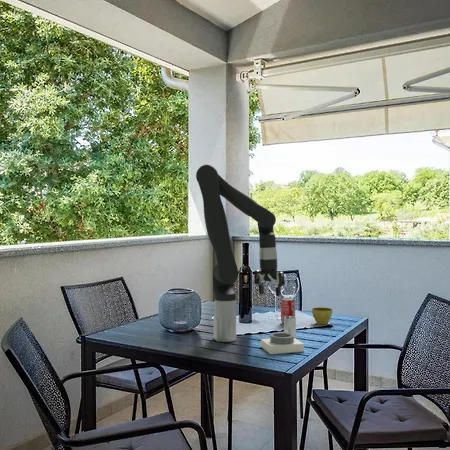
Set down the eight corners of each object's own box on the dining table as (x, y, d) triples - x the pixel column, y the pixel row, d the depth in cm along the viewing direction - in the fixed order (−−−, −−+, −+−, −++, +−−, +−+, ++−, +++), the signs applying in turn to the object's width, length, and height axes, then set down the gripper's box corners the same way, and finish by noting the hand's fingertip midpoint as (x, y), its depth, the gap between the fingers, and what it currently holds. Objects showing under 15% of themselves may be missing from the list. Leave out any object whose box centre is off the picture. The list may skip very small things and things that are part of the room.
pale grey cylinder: (286, 342, 198) (286, 318, 198) (282, 339, 203) (282, 315, 203) (297, 341, 199) (297, 317, 199) (293, 338, 204) (293, 315, 204)
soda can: (293, 321, 238) (293, 297, 237) (296, 324, 231) (296, 300, 230) (279, 321, 237) (279, 297, 237) (282, 324, 230) (282, 300, 230)
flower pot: (310, 321, 238) (310, 307, 238) (330, 321, 238) (330, 307, 238) (313, 325, 228) (313, 311, 228) (334, 325, 228) (334, 311, 228)
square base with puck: (270, 354, 181) (270, 339, 181) (260, 346, 192) (260, 333, 192) (304, 351, 185) (304, 337, 185) (292, 344, 195) (292, 330, 195)
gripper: (249, 258, 205) (251, 295, 205) (277, 259, 195) (278, 298, 196) (260, 255, 210) (261, 292, 211) (287, 257, 201) (288, 294, 202)
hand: (269, 294), depth 204 cm, fingers open, 8 cm apart
